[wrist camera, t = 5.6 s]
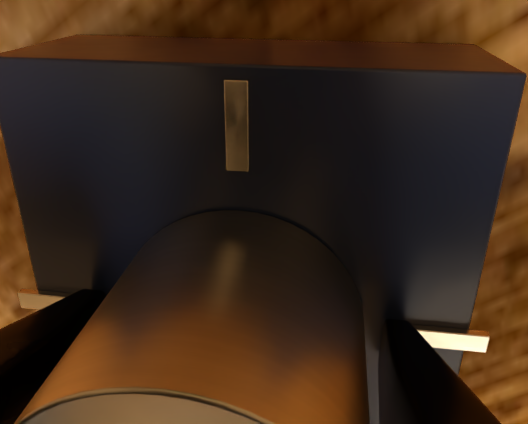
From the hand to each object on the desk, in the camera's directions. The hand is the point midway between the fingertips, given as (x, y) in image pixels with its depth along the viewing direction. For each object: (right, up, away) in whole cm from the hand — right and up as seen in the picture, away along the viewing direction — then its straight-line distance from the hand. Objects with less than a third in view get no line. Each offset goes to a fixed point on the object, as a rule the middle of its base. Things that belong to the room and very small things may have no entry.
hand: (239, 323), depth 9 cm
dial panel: (0, +1, +3) cm, 3 cm away
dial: (0, 0, 0) cm, 0 cm away
